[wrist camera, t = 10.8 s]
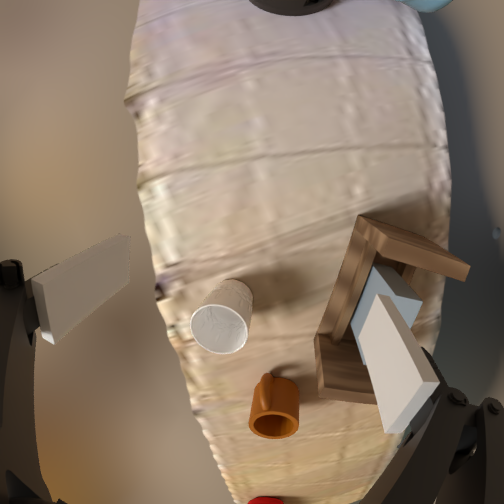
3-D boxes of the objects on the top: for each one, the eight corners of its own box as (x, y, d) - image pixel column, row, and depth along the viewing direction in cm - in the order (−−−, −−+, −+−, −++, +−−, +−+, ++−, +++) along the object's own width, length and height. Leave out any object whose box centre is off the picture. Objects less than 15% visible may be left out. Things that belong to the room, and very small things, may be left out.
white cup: (252, 272, 44) (242, 302, 34) (260, 317, 46) (252, 353, 36) (204, 277, 45) (183, 306, 35) (214, 320, 47) (198, 354, 38)
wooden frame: (357, 214, 39) (389, 237, 26) (423, 236, 38) (470, 266, 25) (313, 339, 46) (318, 397, 32) (374, 351, 45) (394, 405, 32)
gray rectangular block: (369, 261, 40) (395, 295, 28) (393, 267, 39) (424, 301, 28) (348, 318, 43) (363, 364, 31) (371, 322, 42) (391, 368, 31)
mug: (298, 363, 48) (299, 398, 39) (299, 405, 51) (299, 438, 43) (249, 364, 49) (242, 399, 40) (256, 406, 52) (251, 439, 44)
